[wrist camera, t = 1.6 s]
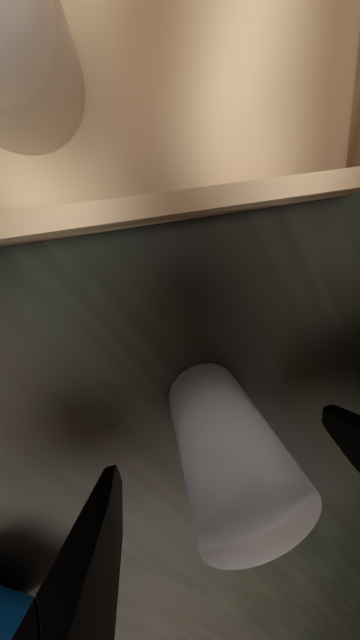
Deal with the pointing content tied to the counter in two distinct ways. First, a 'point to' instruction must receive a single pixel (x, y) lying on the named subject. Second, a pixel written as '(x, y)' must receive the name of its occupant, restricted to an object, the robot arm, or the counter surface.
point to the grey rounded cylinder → (237, 473)
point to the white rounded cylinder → (38, 78)
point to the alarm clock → (12, 610)
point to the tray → (195, 116)
